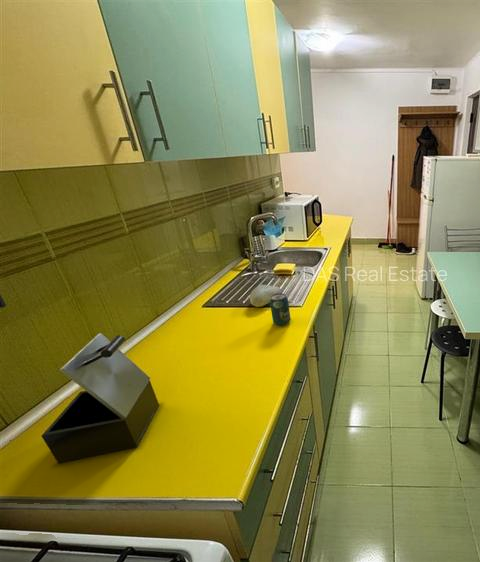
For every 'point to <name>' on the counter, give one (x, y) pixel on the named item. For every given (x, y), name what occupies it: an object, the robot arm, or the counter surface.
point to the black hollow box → (98, 427)
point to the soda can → (280, 309)
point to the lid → (107, 374)
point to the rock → (263, 295)
